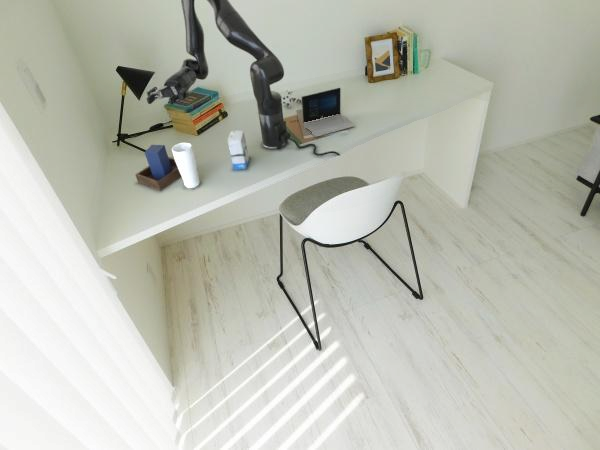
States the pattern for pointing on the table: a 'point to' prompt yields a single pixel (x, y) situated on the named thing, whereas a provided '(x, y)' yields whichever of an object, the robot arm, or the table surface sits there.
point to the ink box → (238, 149)
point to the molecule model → (290, 99)
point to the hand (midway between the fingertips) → (159, 101)
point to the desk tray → (159, 184)
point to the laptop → (323, 112)
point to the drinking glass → (186, 164)
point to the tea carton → (158, 161)
